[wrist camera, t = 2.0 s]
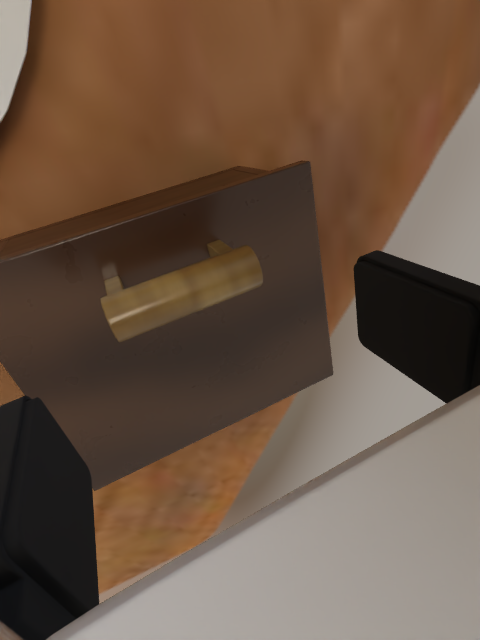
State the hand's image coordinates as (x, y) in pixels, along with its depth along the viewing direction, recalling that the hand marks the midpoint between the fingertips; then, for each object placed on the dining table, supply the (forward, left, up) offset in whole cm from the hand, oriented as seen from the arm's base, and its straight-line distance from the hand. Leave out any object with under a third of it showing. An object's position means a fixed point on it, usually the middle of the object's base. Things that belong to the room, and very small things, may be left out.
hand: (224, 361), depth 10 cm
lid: (+4, 0, -9) cm, 10 cm away
